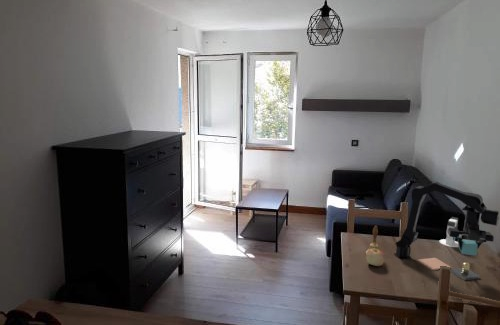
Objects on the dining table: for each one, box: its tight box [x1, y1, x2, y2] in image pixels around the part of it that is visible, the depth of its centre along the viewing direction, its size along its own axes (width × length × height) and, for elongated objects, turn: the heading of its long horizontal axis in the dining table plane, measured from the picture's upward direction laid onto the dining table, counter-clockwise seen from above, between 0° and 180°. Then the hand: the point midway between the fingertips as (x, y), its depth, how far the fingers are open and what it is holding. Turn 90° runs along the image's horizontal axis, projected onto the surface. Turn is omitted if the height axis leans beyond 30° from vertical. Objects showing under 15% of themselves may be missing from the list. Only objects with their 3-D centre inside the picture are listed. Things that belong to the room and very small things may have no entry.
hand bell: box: [365, 225, 380, 255], centre depth 208 cm, size 8×8×16 cm
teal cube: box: [458, 238, 478, 256], centre depth 185 cm, size 6×6×5 cm
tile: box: [417, 257, 452, 271], centre depth 198 cm, size 11×11×1 cm
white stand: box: [438, 216, 459, 248], centre depth 225 cm, size 12×11×15 cm
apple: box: [365, 248, 386, 267], centre depth 195 cm, size 9×9×8 cm
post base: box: [450, 261, 481, 281], centre depth 187 cm, size 9×9×6 cm
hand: (467, 251), depth 186 cm, fingers closed on teal cube, 6 cm apart
